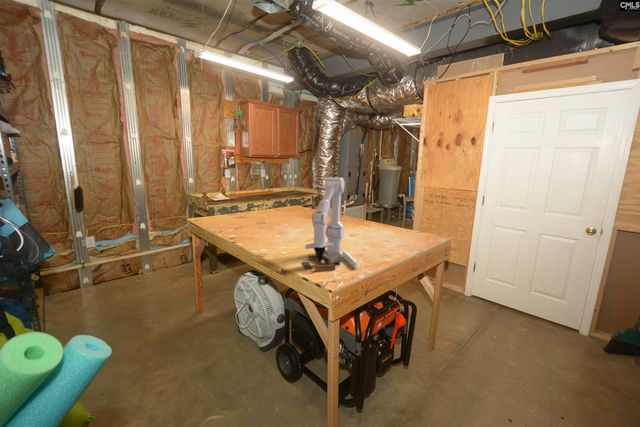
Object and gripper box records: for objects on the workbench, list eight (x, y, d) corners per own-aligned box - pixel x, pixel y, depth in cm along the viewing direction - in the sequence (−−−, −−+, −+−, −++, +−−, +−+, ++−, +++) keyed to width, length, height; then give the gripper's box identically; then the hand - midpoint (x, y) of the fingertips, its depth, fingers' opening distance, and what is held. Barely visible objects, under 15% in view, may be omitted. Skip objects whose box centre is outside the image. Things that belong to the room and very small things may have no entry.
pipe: (315, 258, 152) (326, 254, 157) (330, 269, 143) (342, 264, 148) (315, 248, 150) (327, 244, 154) (331, 259, 141) (343, 254, 145)
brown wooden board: (308, 259, 153) (308, 255, 152) (326, 258, 155) (326, 254, 155) (315, 271, 137) (315, 266, 136) (335, 269, 139) (335, 265, 139)
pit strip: (301, 262, 149) (301, 262, 148) (308, 262, 149) (308, 261, 149) (305, 269, 139) (305, 269, 139) (312, 269, 140) (312, 268, 140)
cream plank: (342, 256, 159) (342, 250, 158) (344, 256, 159) (344, 250, 159) (355, 269, 140) (355, 262, 139) (357, 269, 140) (357, 262, 140)
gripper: (307, 238, 137) (307, 265, 140) (335, 236, 141) (335, 262, 143) (304, 235, 144) (304, 260, 147) (331, 233, 148) (331, 258, 150)
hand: (319, 261), depth 145 cm, fingers closed
